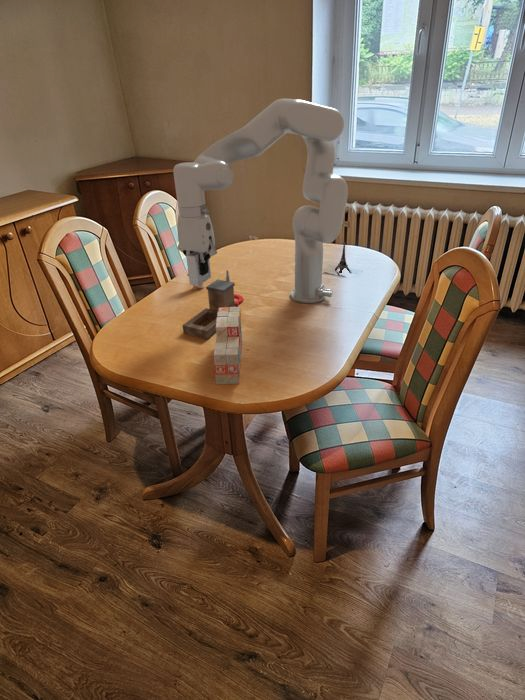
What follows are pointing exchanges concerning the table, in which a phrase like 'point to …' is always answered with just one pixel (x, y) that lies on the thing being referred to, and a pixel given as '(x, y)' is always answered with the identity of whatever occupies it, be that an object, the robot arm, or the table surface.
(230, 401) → the table surface
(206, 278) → the tall grey box
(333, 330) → the table surface
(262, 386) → the table surface
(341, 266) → the eiffel tower figurine
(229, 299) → the post socket
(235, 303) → the tow hook
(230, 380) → the stack of blocks
